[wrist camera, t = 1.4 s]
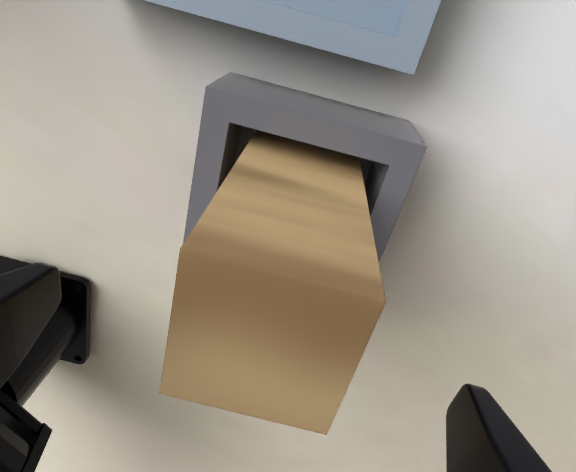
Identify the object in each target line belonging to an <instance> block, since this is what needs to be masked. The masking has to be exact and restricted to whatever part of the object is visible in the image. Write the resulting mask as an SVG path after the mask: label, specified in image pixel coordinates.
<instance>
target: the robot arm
mask: <svg viewBox="0 0 576 472" xmlns="http://www.w3.org/2000/svg"><path fill="white" fill-rule="evenodd" d="M78 284H79V285H81V286H82V287H80V286H79V285H78ZM90 291H91V286H90V283H89V281H88V280H87V279H86V278H83V277H80V276H76V275H72V274H69V273H65V272H61V271H59V270H58V268H57V267H55V266H52V265H48V264H44V263H34V264H29V263H25V262H21V261H17V260H13V259H10V258H6V257H2V256H0V472H34V471H35V469H36V467H37V465H38V462H39V460H40V458H41V455H42V453H43V451H44V448H45V446H46V444H47V441H48V439H49V437H50V434H51V432H52V429H51V428H50V427H48V426H47V425H46V424H45V423H40V422H39V421H38V420H37V419H36V418H35V417H33V416H32V415H31V414H30V413H29V412H28V411H26V410H25V409H24V408H23V407H22V406H23V405H24V404H25V402H26V401H27V400H28V398H29V397H30V396H31V395H32V393H33V392H34V391H35V390H36V388H37V387H38V386H39V384H40V383H41V382H42V381H43V379H44V378H45V377H46V376H47V374H48V373H49V372H50V370H51V369H52V368H53V367H54V365H55V364H56V363H57V362H58V360H59V359H60V360H64V361H68V362H72V363H76V364H84V363H85V362H86V360H87V359H88V357H89V333H90ZM446 458H447V472H552V471H551V470H550V469H549V467H548V466H547V465H546V464H545V462H544V461H543V460H542V459H541V457H540V456H539V455H538V454H537V452H536V451H535V450H534V449H533V447H532V446H531V445H530V443H529V442H528V441H527V440H526V438H525V437H524V436H523V435H522V433H521V432H520V431H519V430H518V428H517V427H516V426H515V425H514V423H513V422H512V421H511V420H510V418H509V417H508V416H507V415H506V413H505V412H504V411H503V410H502V408H501V407H500V406H499V404H498V403H497V402H496V401H495V399H494V398H493V397H492V396H491V394H490V393H489V392H488V391H487V390H486V389H484V388H482V387H479V386H475V385H472V384H465V385H463V386H462V387H461V389H460V390H459V392H458V393H457V395H456V396H455V398H454V399H453V401H452V402H451V404H450V405H449V407H448V410H447V415H446Z"/></svg>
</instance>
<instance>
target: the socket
mask: <svg viewBox="0 0 576 472" xmlns="http://www.w3.org/2000/svg"><path fill="white" fill-rule="evenodd" d="M256 130H260V131H264V132H267V133H271V134H275V135H278V136H282V137H286V138H290V139H293V140H297V141H301V142H304V143H308V144H312V145H316V146H319V147H323V148H327V149H330V150H334V151H338V152H342V153H345V154H349V155H353V156H356V157H359V159H360V165H361V170H362V176H363V181H364V186H365V192H366V197H367V203H368V208H369V214H370V219H371V224H372V230H373V235H374V241H375V246H376V252H377V257H378V263H379V261H380V259H381V256H382V254H383V251H384V249H385V246H386V244H387V242H388V239H389V237H390V234H391V232H392V229H393V227H394V225H395V222H396V220H397V217H398V215H399V213H400V210H401V208H402V205H403V203H404V200H405V198H406V196H407V193H408V191H409V188H410V186H411V183H412V181H413V179H414V176H415V174H416V171H417V169H418V167H419V164H420V162H421V159H422V157H423V154H424V152H425V150H426V147H427V146H426V145H425V143H424V142H423V140H422V139H421V137H420V136H419V135H418V133H417V132H416V130H415V129H414V127H413V126H412V125H411V123H410V122H409V121H408V120H404V119H400V118H397V117H393V116H389V115H386V114H382V113H378V112H375V111H371V110H367V109H364V108H360V107H356V106H353V105H349V104H345V103H342V102H338V101H334V100H331V99H327V98H323V97H320V96H316V95H312V94H309V93H305V92H301V91H298V90H294V89H290V88H287V87H283V86H279V85H276V84H272V83H269V82H265V81H261V80H258V79H254V78H250V77H247V76H243V75H239V74H236V73H232V72H230V73H228V74H226V75H225V76H223V77H221V78H219V79H218V80H216V81H214V82H213V83H211V84H209V85H208V86H206V89H205V96H204V103H203V110H202V117H201V124H200V131H199V138H198V145H197V152H196V159H195V165H194V172H193V179H192V186H191V193H190V200H189V207H188V214H187V221H186V228H185V235H184V242H185V241H186V239H187V238H188V236H189V234H190V233H191V231H192V230H193V228H194V227H195V225H196V224H197V222H198V220H199V219H200V217H201V216H202V214H203V213H204V211H205V210H206V208H207V206H208V205H209V203H210V202H211V200H212V199H213V197H214V196H215V194H216V192H217V191H218V189H219V188H220V186H221V185H222V183H223V181H224V180H225V178H226V177H227V175H228V174H229V172H230V171H231V169H232V167H233V166H234V164H235V163H236V161H237V160H238V158H239V157H240V155H241V153H242V152H243V150H244V149H245V147H246V146H247V144H248V142H249V141H250V139H251V138H252V136H253V135H254V133H255V132H256ZM184 242H183V244H184Z"/></svg>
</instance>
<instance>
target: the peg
mask: <svg viewBox="0 0 576 472" xmlns="http://www.w3.org/2000/svg"><path fill="white" fill-rule="evenodd" d="M385 303H386V301H385V295H384V290H383V284H382V279H381V273H380V268H379V263H378V257H377V252H376V246H375V241H374V235H373V230H372V224H371V219H370V214H369V208H368V203H367V197H366V192H365V186H364V181H363V176H362V170H361V165H360V159H359V157H356V156H353V155H349V154H345V153H342V152H338V151H334V150H330V149H327V148H323V147H319V146H316V145H312V144H308V143H304V142H301V141H297V140H293V139H290V138H286V137H282V136H278V135H275V134H271V133H267V132H264V131H260V130H256V132H255V133H254V135H253V136H252V138H251V139H250V141H249V142H248V144H247V146H246V147H245V149H244V150H243V152H242V153H241V155H240V157H239V158H238V160H237V161H236V163H235V164H234V166H233V167H232V169H231V171H230V172H229V174H228V175H227V177H226V178H225V180H224V181H223V183H222V185H221V186H220V188H219V189H218V191H217V192H216V194H215V196H214V197H213V199H212V200H211V202H210V203H209V205H208V206H207V208H206V210H205V211H204V213H203V214H202V216H201V217H200V219H199V220H198V222H197V224H196V225H195V227H194V228H193V230H192V231H191V233H190V234H189V236H188V238H187V239H186V241H185V242H184V244H183V245H182V247H181V249H180V253H179V260H178V267H177V274H176V281H175V288H174V296H173V303H172V310H171V317H170V324H169V331H168V338H167V345H166V352H165V359H164V366H163V373H162V380H161V387H160V394H163V395H167V396H171V397H175V398H179V399H183V400H187V401H191V402H195V403H199V404H203V405H207V406H211V407H216V408H220V409H224V410H228V411H232V412H236V413H240V414H244V415H248V416H252V417H256V418H260V419H264V420H268V421H272V422H276V423H280V424H284V425H289V426H293V427H297V428H301V429H305V430H309V431H313V432H317V433H321V434H325V435H327V433H328V431H329V428H330V426H331V424H332V422H333V419H334V417H335V415H336V413H337V410H338V408H339V406H340V404H341V402H342V399H343V397H344V395H345V393H346V390H347V388H348V386H349V384H350V381H351V379H352V377H353V375H354V372H355V370H356V368H357V366H358V363H359V361H360V359H361V357H362V355H363V352H364V350H365V348H366V346H367V343H368V341H369V339H370V337H371V334H372V332H373V330H374V328H375V325H376V323H377V321H378V319H379V316H380V314H381V312H382V310H383V308H384V305H385Z"/></svg>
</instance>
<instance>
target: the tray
mask: <svg viewBox="0 0 576 472" xmlns="http://www.w3.org/2000/svg"><path fill="white" fill-rule="evenodd" d="M145 1H148V2H152V3H155V4H159V5H163V6H166V7H170V8H173V9H177V10H181V11H184V12H188V13H192V14H195V15H199V16H202V17H206V18H210V19H213V20H217V21H220V22H224V23H228V24H231V25H235V26H238V27H242V28H246V29H249V30H253V31H257V32H260V33H264V34H267V35H271V36H275V37H278V38H282V39H285V40H289V41H293V42H296V43H300V44H303V45H307V46H311V47H314V48H318V49H322V50H325V51H329V52H332V53H336V54H340V55H343V56H347V57H350V58H354V59H358V60H361V61H365V62H368V63H372V64H376V65H379V66H383V67H387V68H390V69H394V70H397V71H401V72H405V73H408V74H412V75H414V73H415V71H416V68H417V65H418V62H419V60H420V57H421V54H422V52H423V49H424V46H425V43H426V41H427V38H428V35H429V33H430V30H431V27H432V24H433V22H434V19H435V16H436V13H437V11H438V8H439V5H440V3H441V0H145Z"/></svg>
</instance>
